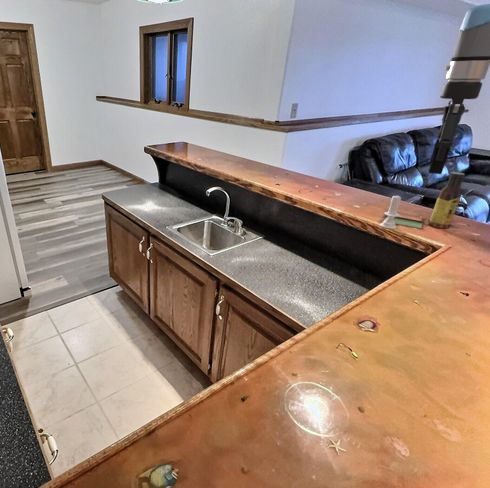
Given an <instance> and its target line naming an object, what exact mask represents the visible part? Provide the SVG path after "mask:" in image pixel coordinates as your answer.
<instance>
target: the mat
mask: <svg viewBox="0 0 490 488" xmlns="http://www.w3.org/2000/svg"><path fill="white" fill-rule="evenodd" d="M387 218H388V216H387V215H386V214H385V217H384V220H383V221H385V220H386V219H387ZM394 222H395V225H399V226H404V227H409V228H414V229H418V230H422V229H423V223H424V221H423V220H417V219H413V218H408V217H402V216H398V217H394Z"/></svg>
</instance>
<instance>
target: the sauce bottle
mask: <svg viewBox="0 0 490 488" xmlns="http://www.w3.org/2000/svg"><path fill="white" fill-rule="evenodd" d="M465 177H466V174H465V173H463V172H458V171H451V172H450V174H449V179H448V181H447V183H446V185H445V186H444V187H443V188H442V189H440V191H439V195H438V197H437V199H436V201H435V204H434V207H433V210H432V213H431V216H430V219H429V223H428V224H429V226H430V227H432V228H436V229H442V230H443V229H444V230H445V229H449V228H450V226H451V224H452V222H453V218H454V216H455V214H456V211H457V208H458V205H459V203H460V202H461V201H460V200H461V198H462V191H461V187H462V183H463V180H464V178H465Z"/></svg>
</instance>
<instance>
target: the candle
mask: <svg viewBox="0 0 490 488" xmlns="http://www.w3.org/2000/svg"><path fill="white" fill-rule="evenodd" d="M401 200H402V197H401V196H399V194H397V195H392V197H391V200H390V204H389V208H388V210H387V211H385V212H384V215H385V216H386V215H387V216H388V218H387V219H386V220H385V221H384V220H383V221H382V222H381V223H380V224H379V226H381V228H385V229H391V230H394V229H397V228H398V227H397V224H395V222H394V217H400V214H399V213H397V212H398V209H399V206H400V205H401V202H402V201H401Z"/></svg>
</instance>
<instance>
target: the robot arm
mask: <svg viewBox="0 0 490 488" xmlns="http://www.w3.org/2000/svg"><path fill="white" fill-rule="evenodd" d="M457 35H458V36H457V39H456V42H455V46H454V50H453V53H452V57H451V59H450V63H449V65H446V67H445V68H444V69H445V71H447V73H446V75H445V80H447V82H446V81H445V82H444V83H443V84H442V87H441V91H440V95H439V98H440V99H445V100H449V102H448V103H447V104H448V105H445V106H444V109H443V112H442V114H443V115H442V118H441V121H442V122H441V127H440V129H439V132H438V133H437V134H438V135H437V139H436V140H435V142H434V145H433V150H432V154H431V157H430V160H429V164H430V166H429V169H428V174H434V175H442V173H443V170H444V167H445V166H446V162H447V159H448V156H449V153H450V149H451V147H452V146H453V143H454V142H453V141H454V138H455V135H456V132H457V128H458V125H459V124H460V123H461V119H462V116H463V115H464V114H465V111H466V107H465V103H464V100H475V99H478V97H479V96H480V93H481V89H482V86H483V82H482V80H485V79H486V76H487V73H488V72H489V71H488V70H489V68H490V3H485V4H479V5H475V6H473V7H470V8H469V9H468V10H467V11H466V13H465V15H464V18H463V20H462V23H461V25H460V28H459V30H458V34H457Z"/></svg>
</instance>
